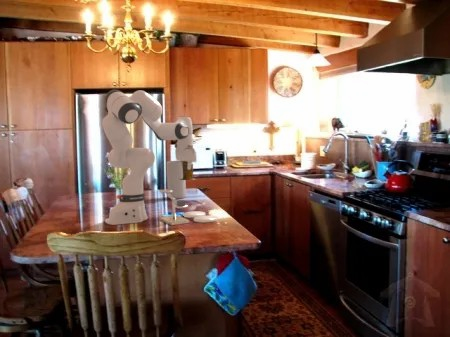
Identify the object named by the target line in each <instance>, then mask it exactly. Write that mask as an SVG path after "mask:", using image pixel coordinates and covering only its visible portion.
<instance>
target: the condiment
mask: <svg viewBox="0 0 450 337" xmlns="http://www.w3.org/2000/svg"><path fill="white" fill-rule="evenodd" d="M187 166H188V163H187V161H183V178H182V179H179V180H186V181H191V180H195V178H194V162H192V165H191V169H190V170H188V169H187Z"/></svg>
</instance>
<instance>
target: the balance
mask: <svg viewBox="0 0 450 337" xmlns="http://www.w3.org/2000/svg"><path fill="white" fill-rule="evenodd" d="M168 192H173V190H168V189H162V190H161V189H160V190H159V193H161V194H163V193H164V194H165V195H167V197H168V196H169V197H170V198H171V199H170V198H169V199H170V200H171V206H172V207H171V208H172V210H171V211H172V215H171V216H162V217H159V220H160V221H161V222H164V223H165V224H168V225H170V226H176V225H183V224H188V223H190V219H188V218H186V217H183V216H180V215H177V214H176V209H185V208H188V207H189V205H188V204H186V200H184V199H175V198H173V197H172V196H171V195H170V194H169V193H168Z"/></svg>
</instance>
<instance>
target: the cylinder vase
mask: <svg viewBox="0 0 450 337" xmlns="http://www.w3.org/2000/svg"><path fill="white" fill-rule="evenodd" d="M182 178H183V169H182V165H181V163H180V161H179V160H168V161H166V182H167V183H166V186H167V190H173V192H168V193H169V194H170V195H171V196H172V197H173V198H175V200H182V199H184V198H187V188H186V187H187V186H186V185H187V184H186V181H187V180H179V179H182ZM167 198H168V199H170V200H172V199H171V198H170V197H169V196H168V195H167Z"/></svg>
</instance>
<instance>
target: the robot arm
mask: <svg viewBox="0 0 450 337" xmlns="http://www.w3.org/2000/svg"><path fill="white" fill-rule="evenodd" d="M104 103H105V108H104V109H105V112H106V113H107V115H105V117H103V119H102V122H101V126H102V129H103V131H104V134H105V137H106V138H107V140H108V141H109V143H110V145H111V147H112V149H111V150H110V152H109V153H108V157H107V159H108V163H109V165H110V166H111V167H114V168H117V169H130V173H129V174H128V175H126V176H125V177H124V178H123V179H122V181H121V182H122V185H121V186H122V187H121V188H122V194H117V195H116V199H118V200H119V202H117V203H116V204H115V205H114V206H113V207H112V208H110V211H109V213H108V214H109V215H108V216H109V217H108V218H106V219H104V222H105V224H107V225H111V226H112V225H113V226H114V225H124V224H126V225H128V224H136V223H137V224H138V223H142V222H143V221H146V220H148V218H149V217H148V214H147V211H146V206H145V203H146V196H145V193H144V180H145V176H146V173H147V171H148V170H149V169H150V168H151V167H152V166H153V164H154V163H155V158H156V157H155V153H154V152H153V150H152V149H151V148H146V147H131V146H132V145H133V143H134V141H133V140H134V139H133V136H132V134H131V132H130V131H129V128H128V127H127V125H131V124H134V123H135V122H137V121H138V119H139V118H140V116H141V119H142V121H143V122H144V123H145V125H146V126H147V127H148V128H149V129H151V131H152V132H153V134H154V135H155V137H156V138H157V139H158V140H159V141H162V142H163V141H177V142H176V143H174V148H175V153H174V154H175V159H176V161H180V163H181V165H182V169H183V161H187V163H188V166H187V169H188V170H190V169H191V165H192V163H195V162H196V161H197V154H196V153H197V152H196V149H195V148H194V138H193V131H194V129H193V122H192V119H191V117H189V116H183V115H182V116H178V117H177V119H176V121H174V122H161V121H159V119H160V118H161V116H162V115H163V107H162V105H161V102H159V101H158V100H157V99H156V98H155V97H154V96H152V95H151V94H150V93H148V92H146V91H145V90H140V89H139V90H136V91H134V92H133V93H132V94H131V95H130V96H128V95H127V94H126V93H124V92H123V91H122V90H119V89H111V90H109V91H108V92H107V93H106V95H105V98H104Z"/></svg>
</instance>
